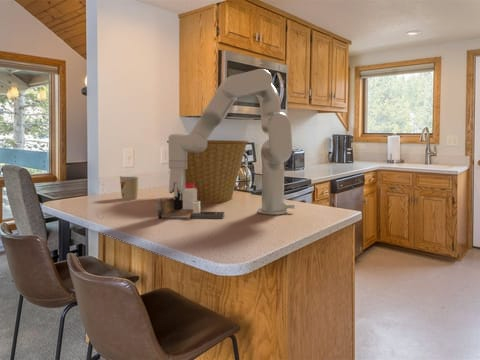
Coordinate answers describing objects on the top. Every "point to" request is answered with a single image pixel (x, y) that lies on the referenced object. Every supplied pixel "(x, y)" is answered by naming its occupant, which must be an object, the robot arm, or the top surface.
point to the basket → (215, 169)
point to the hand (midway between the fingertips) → (178, 209)
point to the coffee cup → (129, 187)
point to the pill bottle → (189, 196)
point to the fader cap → (196, 207)
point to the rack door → (168, 207)
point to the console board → (208, 215)
